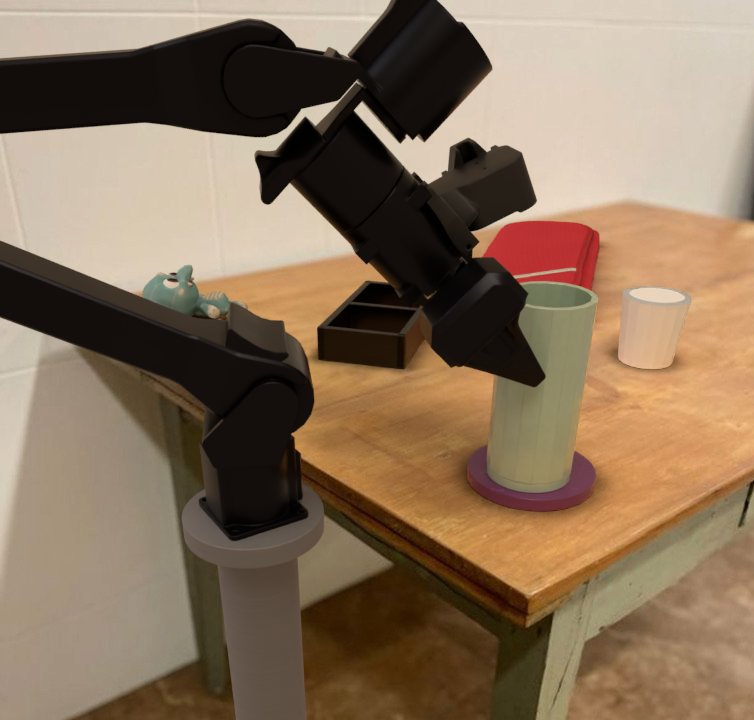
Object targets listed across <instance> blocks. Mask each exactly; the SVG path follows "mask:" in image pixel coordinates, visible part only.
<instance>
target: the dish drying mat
mask: <svg viewBox="0 0 754 720" xmlns="http://www.w3.org/2000/svg"><path fill="white" fill-rule="evenodd" d="M600 241H601V240H600V232H599V231H597V230H595V229H594V228H592V227H590V226H589V225H587V224H584V223H580V222H574V221H573V222H572V221H557V220H524V221H516V222H510V223H507V224H505V225H503V226H502V227H501V228H500V229H499V230H498V232H497V233H496V234H495V237H494V238H493V240H492V241H491V243H490V244H489V245H488V246H487V248H486V250H485V252H484V253H483V255H482V256H481V257H494V258H495V259H496V260H497V261H498V262H499V263H500V264H501V265H502V266H504V267H505V268H506V269H507V270H508V271H509V272H510V273H511V274H512V276H513V277H514V278H515V279H516V280H517V281H518V282H519V283H523V282H530V281H550V282H561V283H567V284H572V285H577V286H581V287H583V288H586V289H588V290H591V291H592V287H593V282H594V279H595V270H596V265H597V261H598V258H599V257H598V256H599V252H600Z"/></svg>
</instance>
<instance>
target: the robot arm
mask: <svg viewBox="0 0 754 720" xmlns="http://www.w3.org/2000/svg"><path fill="white" fill-rule="evenodd" d="M493 69H494V68H493V65H492V62H491V60H490V59H489V57H488V55H487V53H486V52H485V50H484V48H483V47H482V45H481V44H480V43H479V41H478V39H477V38H476V37H475V35H474V34H473V33H472V32H471V30H470V29H469V28H468V26H467V25H466V24H465V23H464V22H463V21H459V20H458V21H457V19H456V18H455V17H454V16H453V15H452V14H451V13H450V12H449V10H448V9H447V8H446V7H445V6H444V5H442V3H441V2H440V1H438V0H390V1H389V3H388V5H387V6H386V8H385V9H384V10H383V12H382V14H381V15H380V16H379V17H378V18H377V19H376V21H375V22H374V23H373V24H372V25H371V26H370V27H369V28H368V30H367V31H366V32H365V33H364V34H363V36H362V37H361V38H360V39H359V40H358V41H357V43H356V44H355V45H354V46H353V47H352V49H350V50H349V52H348V53H347V55H344V54H343V53H340V52H339V51H338V49H335V48H333V47H331V46H327V48H326V50H325V51H324V50H318V49H312V48H307V47H300V46H297V45H296V44H295V42H294V41H293V39H291V37H289V36H288V35H287V34H286V32H284V31H283V30H282V29H281V28H279V27H278V26H276V25H275V24H272V23H270V22H268V21H265V20H263V19H258V18H252V17H251V18H248V17H247V18H242V19H237V20H233V21H231V22H230V21H229V22H227V23H222V24H220V25H216V26H213V27H208V28H206V29H201V30H198V31H195V32H194V31H193V32H191V33H188V34H185V35H180V36H178V37H174V38H170V39H167V40H164V41H159V42H156V43H153V44H149V45H145V46H142V47H139V48H127V49H126V48H125V49H114V50H113V49H111V50H99V51H98V50H97V51H83V52H70V53H69V52H68V53H58V54H57V53H55V54H42V55H41V54H40V55H27V56H26V55H25V56H14V57H0V135H4V134H5V135H7V134H16V133H17V134H18V133H31V132H42V131H43V132H44V131H57V130H69V129H70V130H71V129H84V128H94V127H96V128H97V127H107V126H109V127H110V126H121V125H133V124H152V125H161V126H162V125H163V126H168V127H169V126H170V127H173V128H180V129H186V130H191V131H197V132H202V133H211V134H220V135H228V136H237V137H245V138H246V137H247V138H267V137H268V138H269V137H271V136H275V135H278V134H280V133H281V132H283V131H285V130H286V129H287V128H288V127H289V126H290V125H291V124H292V123H293V122H294V120H295V119H296V117H298V116H299V114H300V113H301V110H302V109H303V110H304V109H309V108H313V107H317V106H322V105H325V104H329V103H335V102H337V103H336V104H335V105H334V106H333V108H331V109H330V111H329V112H328V113H327V114H326V115H325V116H324V117H323V118H322V119H321V120H320V121H319V122H318V123H317V124H316V125H315V123H314V122H313V121H311V120H310V118H308V117H307V116H304V117H303V118H302V119H301V120H300V121H299V123H297V125H295V127H294V128H293V129H292V130H291V132H290V133H289V134H287V136H286V137H285V139H284V140H282V142H281V143H280V144H279V145H278V147H277V148H276V149H275V150H262V149H261V150H260V149H258V150H256V151H255V152H254V154H253V155H254V162H255V165H256V168H257V170H258V174H259V186H258V188H259V195H260V196H259V197H260V201H261V203H263V204H264V205H265V206H268V205H269V206H270V205H271V204H273V203H274V201H276V199H278V197H279V196H280V195H281V194H282V193H283V191H284V190H286V188H287V187H288V186H289V185H291V186H292V187H293V188H294V189H295V190H296V191H297V192H298V193H299V194H300V195H301V196H302V197H303V198H304V199H305V200H306V201H307V202H308V203H309V204H310V205H311V207H313V208H314V209H315V210H316V211H317V212H318V213H319V214H320V215H321V216H322V218H324V219H325V220H326V221H327V222H328V223H329V224H330V225H331V226H332V227H333V228H334V229H335V230H336V231H337V232H338V234H339V235H340V236H342V238H343V239H345V240H346V242H347V243H349V244H350V246H351V248H352V250H353V252H354V253H355V255H356V256H357V257H358V258H359V259H360V260H361V261H362V262H363V263H364V264H365V265H368V264H369V265H370V266H371V267H372V268H373V269H374V270H375V271H376V272H377V273H378V274H379V275H380V276H381V277H382V278H383V279H384V280H385V281H386V282H389V283H390V284H391V286H392V287H393V288H394V289H395V291H396V292H397V294H398V296H399V298H400V299H401V300H402V301H403V302H404V303H405V304H406V305H407V306H408V307H409V308H411V307H412V306H413V305H414V304H415V303H416V304H418V305H420V306H423V308H422V309H421V320H420V330H421V332H422V334H423V335H424V337H425V338H424V340H425V341H426V342H427V344H428V346H429V348H430V349H431V350H432V351H433V352H434V353H435V354H436V355H437V356H438V357H439V358H440V359H442V361H443V362H445V363H446V365H447V366H448V367H449V368H451V369H452V368H454V367H456V368H462V367H466V368H468V369H472V370H476V371H480V372H484V373H487V374H490V375H493V376H494V375H497V376H500V377H503V378H506V379H509V380H512V381H515V382H518V383H521V384H524V385H527V386H530V387H537V386H538V385H539V384H540V383H541V382H542V381H543V380H544V379H545V378H546V375H545V373H544V371H543V370H542V368H541V366H540V364H539V362H538V360H537V358H536V357H535V355H534V353H533V351H532V349H531V347H530V346H529V344H528V342H527V340H526V338H525V336H524V334H523V332H522V331H521V329H520V327H519V323H518V321H519V316H520V312H521V311H522V310H523V308H524V307H525V304H526V298H527V296H528V292H527V291H526V290H525V289H524V288H523V287H522V286H521V285H520V283H519V282H518V281H517V280H516V279H515V278H514V277H513V276H512V274H511V273H510V272H509V271H508V270H507V269H506V268H505V267H504V266H502V265H501V264H500V263H499V262H498V261H497V260H496V259H495V258H494V257H482V256H478V257H473V254H474V253H473V250H474V249H475V248H476V246H478V245H479V243H480V240H479V239H478V238H477V236H476V235H474V234H473V232H477V231H480V230H482V229H484V228H487V227H488V226H491V225H493V224H494V223H497V222H499V221H501V220H503V219H505V218H506V217H508V216H510V215H512V214H515V213H517V212H518V213H524V212H525V211H527V210H529V209H531V208H533V207H534V206H535V205H536V204H537V202H538V198H537V195H536V191H535V189H534V187H533V183H532V180H531V177H530V173H529V171H528V167H527V164H526V161H525V157H524V155H523V152H522V151H520V150H518V149H516V148H514V147H512V146H510V145H508V144H507V145H505V144H504V145H500V146H499V145H497V144H494V145H492V146H490V150H488V151H487V150H485V148H483V147H482V145H480V143H478V142H477V141H476V140H474V139H472V138H470V137H466V138H464V139H462V140H460V141H459V142H457V143H455V144H452V145H451V146H450V147H449V152H448V154H449V155H448V161H447V162H448V164H447V169H445V170H443V171H441V173H440V175H441V176H440V177H438V178H437V179H435V180H433V181H431V182H429V183H428V182H427V181H426V180H423V178H422V177H420V176H419V174H417V172H415V171H413V172H412V173H411V172H410V171H409V170H408V169H407V168H406V166H405V165H403V163H402V162H401V161H400V160H399V159H398V158H397V157H396V156H395V155H394V153H393V152H392V151H391V150H390V149H389V148H388V147H387V146H386V144H385V143H384V142H383V141H382V140H381V139H380V138H379V136H378V135H377V134H376V133H375V132H374V131H373V130H372V129H371V127H369V125H368V124H367V123H366V122H365V121H364V120H363V118H362V117H361V116H360V115H359V114H358V112H356V111H355V110H356V109H357V108H358V107H359V106H360V104H361V103H362V104H363V105H364V106H365V107H366V108H367V110H368V111H369V112H370V113H371V114H372V115H373V116H374V118H375V119H376V120H377V121H378V122H379V123H380V125H382V127H383V128H384V129H385V130H386V131H387V133H389V135H391V136H392V137H393V139H394V140H396V142H397V143H398V144H399V145H402V143H403V142H404V141H405V140H406V139H407V137H409V139H410V140H412V141H414V140H415V139H416V138H418V139H419V140H420V141H421V142H423V143H426V142H427V141H428V139H430V138H431V136H432V135H433V134H435V132H436V131H437V130H438V129H439V128H440V127H441V126H442V125H443V124H444V123H445V121H446V120H447V119H448V118H449V117H450V116H451V115H452V114H453V113H454V112H455V111H456V110H457V109H458V108H459V107H460V105H462V103H463V102H464V101H465V100H466V99H467V98H468V96H470V95H471V94H472V92H473V91H474V90H476V88H478V86H479V85H480V84H481V83H482V82H483V81H484V80H485V78H486V77H487V76H488V75H489V74H490V73H491V72H492V71H493ZM0 319H3V320H6V321H7V322H11V323H13V324H16V325H19V326H22V327H24V328H27V329H30V330H33V331H35V332H38V333H41V334H44V335H46V336H48V337H52V338H54V339H58V340H60V341H63V342H64V343H68V344H71V345H73V346H76V347H78V348H81V349H85V350H86V351H90V352H93V353H95V354H97V355H100V356H103V357H106V358H109V359H112V360H114V361H117V362H120V363H121V364H124V365H128V366H130V367H132V368H136V369H139V370H141V371H144V372H147V373H149V374H152V375H154V376H156V377H157V376H158V377H160V378H163V379H164V380H165V379H166V380H168V381H170V382H173V383H175V384H176V385H178V386H180V388H182V389H183V390H184V391H185V392H187V393H188V395H190V396H191V397H193V398H194V399H195V400H196V401H198V402H199V403H200V405H202V406H203V407H204V412H203V413H204V414H203V424H202V425H203V426H202V427H203V428H202V437H201V438H202V439H201V440H199V441H198V444H199V452H200V459H201V460H200V461H201V468H202V477H203V484H204V489H205V493H206V496H205V497H202V498H200V499H199V506H200V507H201V508H202V509H203V510H204V512H205V513H206V514H207V515H208V516H209V517H210V518H211V519H212V521H213V522H214V523H215V524H216V525H217V526H218V527H219V529H220V530H221V531H222V532H223V533H224V534H225V535H226V536H227V538H228V539H229V540H231V541H239V540H242V539H245V538H248V537H251V536H254V535H257V534H260V533H263V532H266V531H269V530H273V529H276V528H279V527H282V526H285V525H288V524H291V523H294V522H297V521H300V520H304V519H306V518H308V516H309V515H308V510H307V509H306V508H305V507H304V506H303V505H302V504H301V503H300V502H299V500H301V499H302V498H303V484H304V483H303V465H302V452H300V451H299V450H298V449H296V437H295V436H294V435H293V434H294V433H296V432H297V431H298V430H299V429H300V428H302V427H303V426H305V425H306V423H307V422H308V420H309V418H310V417H311V416H312V413H313V410H314V407H315V403H316V402H315V389H314V384H313V378H312V374H311V368H310V364H309V363H310V362H309V359H308V357H307V354H306V351H305V350H304V349H305V348H304V347H303V346H302V344H301V342H300V341H299V340H298V339H297V338H296V337H295V336H293V335H292V334H291V333H289V332H287V331H286V326H285V321H284V320H282V319H281V320H279V319H277V320H276V319H268V318H265V317H262V316H259V315H257V314H256V313H254V312H252V311H251V310H249V309H248V310H247V309H246V308H244V307H242V306H240V305H238V304H236V303H233V302H231V303H230V304H229V309H228V313H227V315H226V319H222V320H218V318H216V319H213V318H200V317H195V316H192V317H191V316H188V315H185V314H183V313H180V312H178V311H175V310H173V309H170V308H168V307H165V306H163V305H160V304H158V303H155V302H153V301H150V300H148V299H145V298H143V297H142V296H140V295H137V294H135V293H133V292H130V291H127V290H126V289H123V288H121V287H118V286H115V285H112V284H110V283H107V282H105V281H102V280H100V279H98V278H95V277H93V276H91V275H88V274H85V273H83V272H80V271H78V270H75V269H74V268H73V269H72V268H70V267H68V266H65V265H63V264H60V263H58V262H55V261H53V260H51V259H48V258H45V257H44V256H40V255H38V254H35V253H33V252H31V251H27V250H25V249H22V248H20V247H18V246H15V245H13V244H10V243H8V242H5V241H2V240H0Z"/></svg>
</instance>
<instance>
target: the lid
mask: <svg viewBox="0 0 754 720" xmlns="http://www.w3.org/2000/svg"><path fill="white" fill-rule="evenodd" d="M487 448H488V444H485V445H483V446H481V447H479V448H477V449H476V450H474V452H473V453H471V455H470V456H469V458H468V461H467V470H466V477H467V482H468V483H469V485H470V486H471V488H472V489H473V490H474V491H475V492H476V493H477V494H478V495H480V496H482V497H483V498H485V499H487V500H489V501H491V502H493V503H495V504H498V505H500V506H503V507H507V508H512V509H515V510H521V511H528V512H529V511H530V512H553V511H560V510H566V509H570V508H573V507H575V506H577V505H580V504H581V503H584V502H585V501H587V499H589V498H590V496H591V495H592V494H593V492H594V490H595V484H596V478H597V473H596V469H595V467H594V465H593V464H592V462H591V461H590V460H589V459H588V458H586V457H585V455H583V454H581V453H579V452H578V451H576V450H575V453H574V459H573V466H572V470H571V477H570V480H569V482H568V483H567V484H566V485H565V486H564V487H562V488H560V489H558V490H555V491H551V492H545V493H525V492H519V491H514V490H511V489H508V488H505V487H503V486H500V485H499V484H497V483H495V482H494V481H493V480H492V479H491V478H490V477H489V476H488V474H487V471H486V467H487V461H486V459H487Z"/></svg>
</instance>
